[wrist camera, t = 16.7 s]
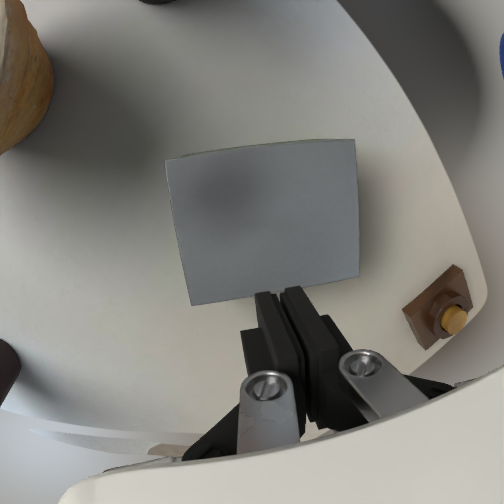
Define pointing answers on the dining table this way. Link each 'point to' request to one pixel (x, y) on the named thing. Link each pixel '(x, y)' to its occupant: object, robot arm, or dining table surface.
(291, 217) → the tin lid
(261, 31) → the dining table surface
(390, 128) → the dining table surface
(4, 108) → the potted plant
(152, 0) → the travel mug
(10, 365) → the wine bottle
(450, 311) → the button
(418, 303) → the button block
